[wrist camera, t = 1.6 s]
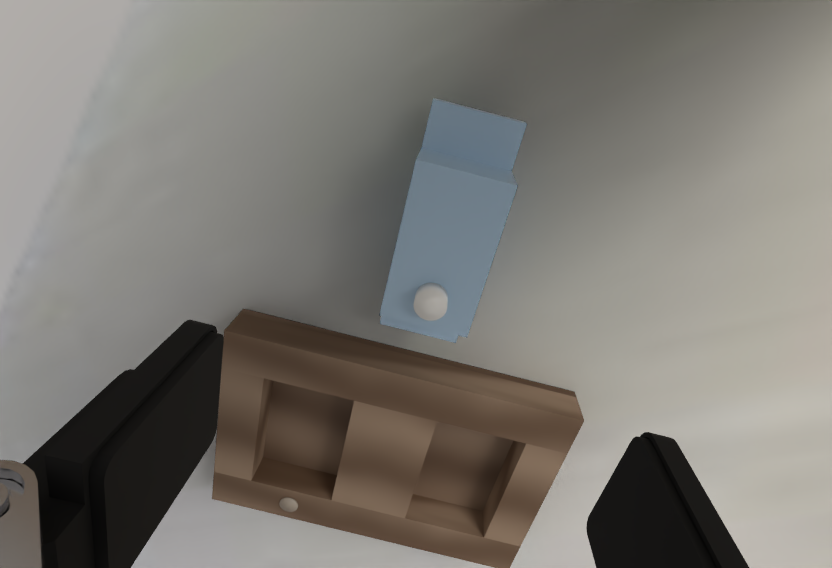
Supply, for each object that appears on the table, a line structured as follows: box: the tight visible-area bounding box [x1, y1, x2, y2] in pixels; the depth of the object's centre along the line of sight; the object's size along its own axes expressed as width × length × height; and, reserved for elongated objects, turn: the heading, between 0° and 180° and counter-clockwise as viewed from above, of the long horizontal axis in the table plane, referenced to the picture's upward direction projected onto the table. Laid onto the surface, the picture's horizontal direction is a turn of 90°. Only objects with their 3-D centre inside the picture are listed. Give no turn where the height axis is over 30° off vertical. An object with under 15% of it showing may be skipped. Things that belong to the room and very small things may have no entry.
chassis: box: [212, 309, 584, 568], centre depth 30 cm, size 13×20×3 cm, turn 77°
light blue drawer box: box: [379, 98, 527, 343], centre depth 22 cm, size 11×4×6 cm, turn 167°
